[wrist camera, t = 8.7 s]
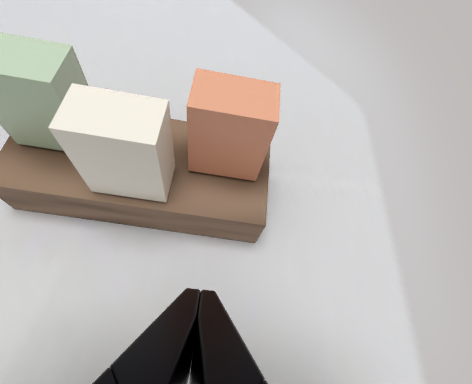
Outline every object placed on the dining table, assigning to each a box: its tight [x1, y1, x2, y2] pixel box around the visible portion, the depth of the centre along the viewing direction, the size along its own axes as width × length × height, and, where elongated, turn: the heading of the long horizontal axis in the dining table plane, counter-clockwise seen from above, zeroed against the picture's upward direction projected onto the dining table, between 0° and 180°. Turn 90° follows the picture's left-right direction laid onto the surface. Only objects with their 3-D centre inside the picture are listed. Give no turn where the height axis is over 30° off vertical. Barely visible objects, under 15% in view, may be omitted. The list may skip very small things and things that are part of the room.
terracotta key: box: [187, 68, 280, 181], centre depth 19 cm, size 3×5×6 cm, turn 84°
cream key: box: [48, 83, 175, 202], centre depth 17 cm, size 3×5×6 cm, turn 84°
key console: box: [0, 119, 270, 243], centre depth 23 cm, size 8×19×4 cm, turn 85°
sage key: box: [0, 32, 88, 151], centre depth 18 cm, size 3×5×6 cm, turn 84°
